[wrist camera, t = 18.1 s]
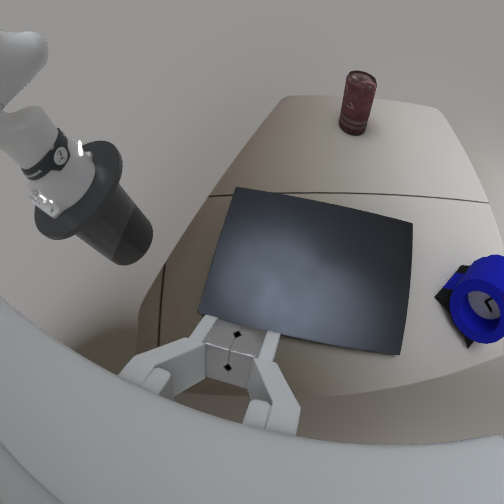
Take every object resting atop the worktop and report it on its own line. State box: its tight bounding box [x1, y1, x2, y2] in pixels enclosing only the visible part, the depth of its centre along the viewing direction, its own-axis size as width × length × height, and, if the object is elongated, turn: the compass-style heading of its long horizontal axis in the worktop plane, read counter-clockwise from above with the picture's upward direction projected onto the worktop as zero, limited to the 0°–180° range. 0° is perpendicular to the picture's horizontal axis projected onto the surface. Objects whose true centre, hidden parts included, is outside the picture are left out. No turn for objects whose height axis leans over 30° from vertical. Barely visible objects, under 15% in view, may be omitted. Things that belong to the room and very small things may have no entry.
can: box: [339, 71, 377, 135], centre depth 46 cm, size 6×6×14 cm
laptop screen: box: [197, 187, 413, 355], centre depth 39 cm, size 21×30×1 cm
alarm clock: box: [435, 255, 504, 348], centre depth 29 cm, size 12×12×15 cm
